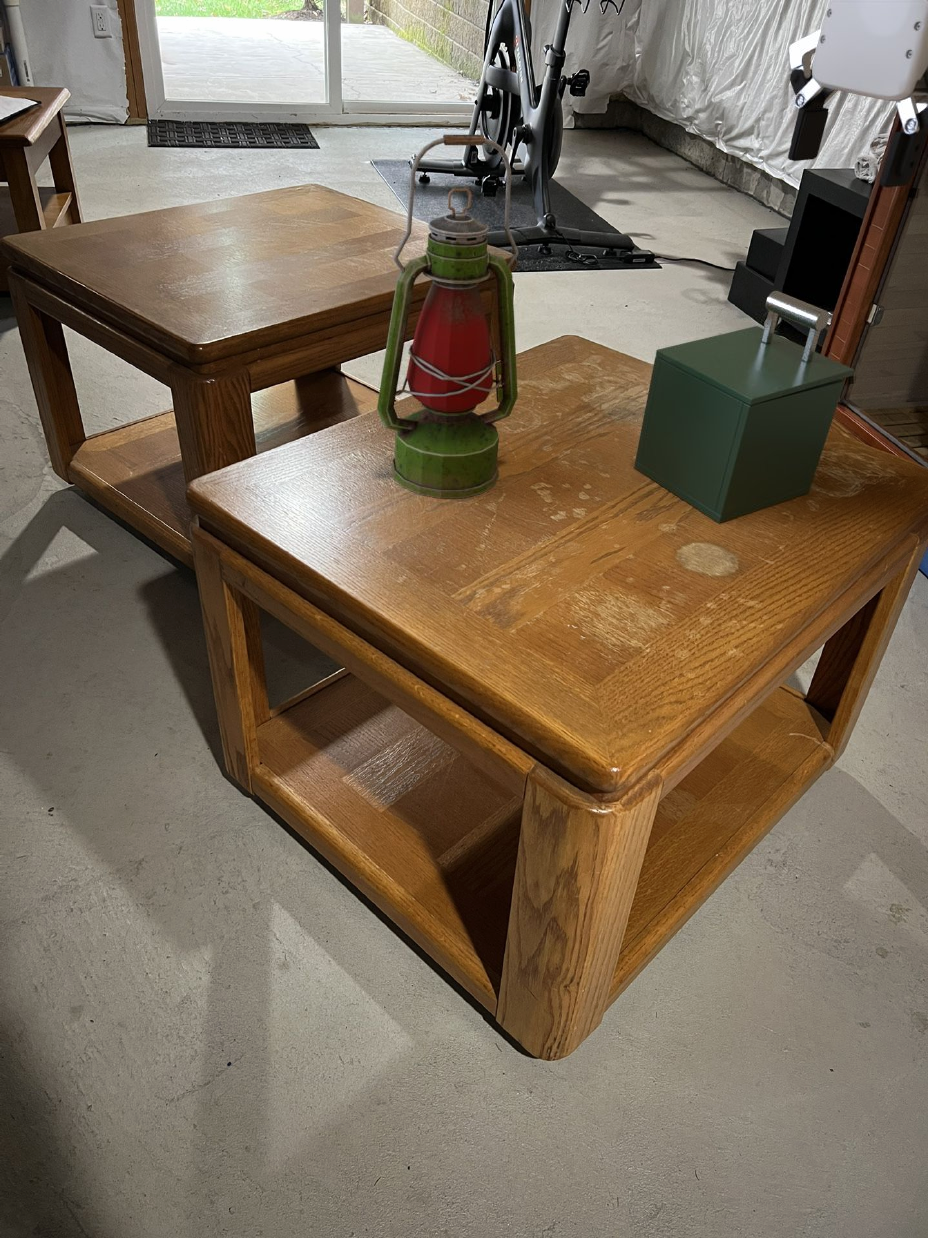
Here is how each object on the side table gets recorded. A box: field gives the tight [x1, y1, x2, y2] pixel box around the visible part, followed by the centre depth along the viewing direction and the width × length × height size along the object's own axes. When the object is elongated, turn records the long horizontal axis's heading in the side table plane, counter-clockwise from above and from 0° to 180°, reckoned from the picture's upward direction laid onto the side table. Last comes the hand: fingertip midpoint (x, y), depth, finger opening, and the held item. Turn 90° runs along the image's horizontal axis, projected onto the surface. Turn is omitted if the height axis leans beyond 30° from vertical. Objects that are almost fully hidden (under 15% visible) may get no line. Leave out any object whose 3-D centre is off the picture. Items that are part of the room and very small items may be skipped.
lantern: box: [376, 134, 519, 499], centre depth 83 cm, size 14×11×30 cm
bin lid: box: [655, 290, 855, 405], centre depth 85 cm, size 14×12×5 cm
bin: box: [633, 355, 846, 524], centre depth 90 cm, size 13×12×12 cm
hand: (845, 171), depth 80 cm, fingers open, 9 cm apart
